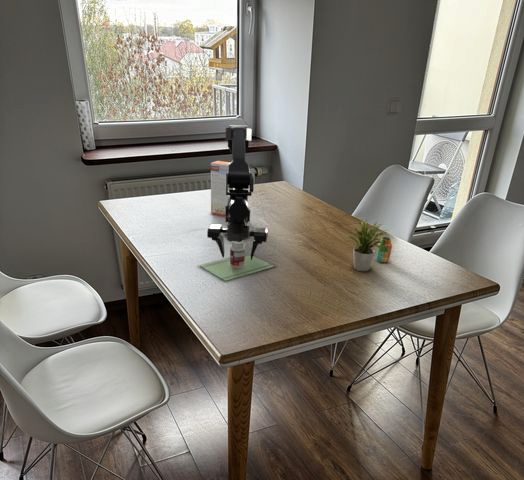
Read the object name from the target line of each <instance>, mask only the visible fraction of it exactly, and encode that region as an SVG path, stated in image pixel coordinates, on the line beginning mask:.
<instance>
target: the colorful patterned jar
mask: <svg viewBox="0 0 524 480" xmlns="http://www.w3.org/2000/svg"><path fill="white" fill-rule="evenodd" d="M382 239H385V240H382ZM380 240H382V241H381V242H383V243H378V244H377V245H379V247H380V249H379V248H378V247H377V250H376V260H377V261H378V262H379V263H387V262H389V260H390V258H391V255H392V249H393V243H392V238H391V237H389V236H382V237H381V239H380Z"/></svg>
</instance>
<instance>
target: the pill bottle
mask: <svg viewBox="0 0 524 480" xmlns="http://www.w3.org/2000/svg"><path fill="white" fill-rule="evenodd" d="M230 242H231V243H230V245H231V246H230V248H229V258H230V266H231V267H233V268H242V267H244V265H245V254H246V247H245V241H244V240H243V241H242V242H237V241H230Z"/></svg>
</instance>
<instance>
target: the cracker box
mask: <svg viewBox="0 0 524 480" xmlns="http://www.w3.org/2000/svg"><path fill="white" fill-rule="evenodd" d="M230 163H231V162H229V161H224V160H216V161H212V162H210V213H211V214H212V215H216V216H220V217H225V218H226V206H227V205H228V198H229V195H226V172H227V173H229V164H230ZM228 186H229V185H228ZM229 189H230V188H228V191H229ZM244 190H247V189H244Z"/></svg>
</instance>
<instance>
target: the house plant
mask: <svg viewBox="0 0 524 480" xmlns="http://www.w3.org/2000/svg"><path fill="white" fill-rule="evenodd" d="M377 224H378V221H376V222H375V223H374V224H373V225H372V227H371V228H370V229H369V227H368V220H367V219H365V222H364V220H363V219H361V224H360V226H358V227H360V230H358V228H357V227H356V226H355V225H354V224H352V227H353V228H354V230H353V229H352V230H353V232H354V233H355V234H356V237H357V238H358V240H357V238H355V237H354V236H353V235H348V236H347V238H348V239H351V240H352V241H354V242H355V246H354V248H353V249H352V251H353V269H354V270H356V271H359V272H368V271H369V270H370V268H371V265H372V262H373V260H374V256H375V252H376V250H374V249H373V248H374V247H377V249H378V248H379V249H380V247H379V245H378V244H379V243H383V242H381V241H382V240H385V239H382V240H381V239H380V238H378V237H379V236H382V235H383V236H384V235H386V234H388V232H387V231H388V229H384V230H381V231H378V230H379V228H380V227H381V226H382V225H383V223H380V224H378V225H377Z"/></svg>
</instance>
